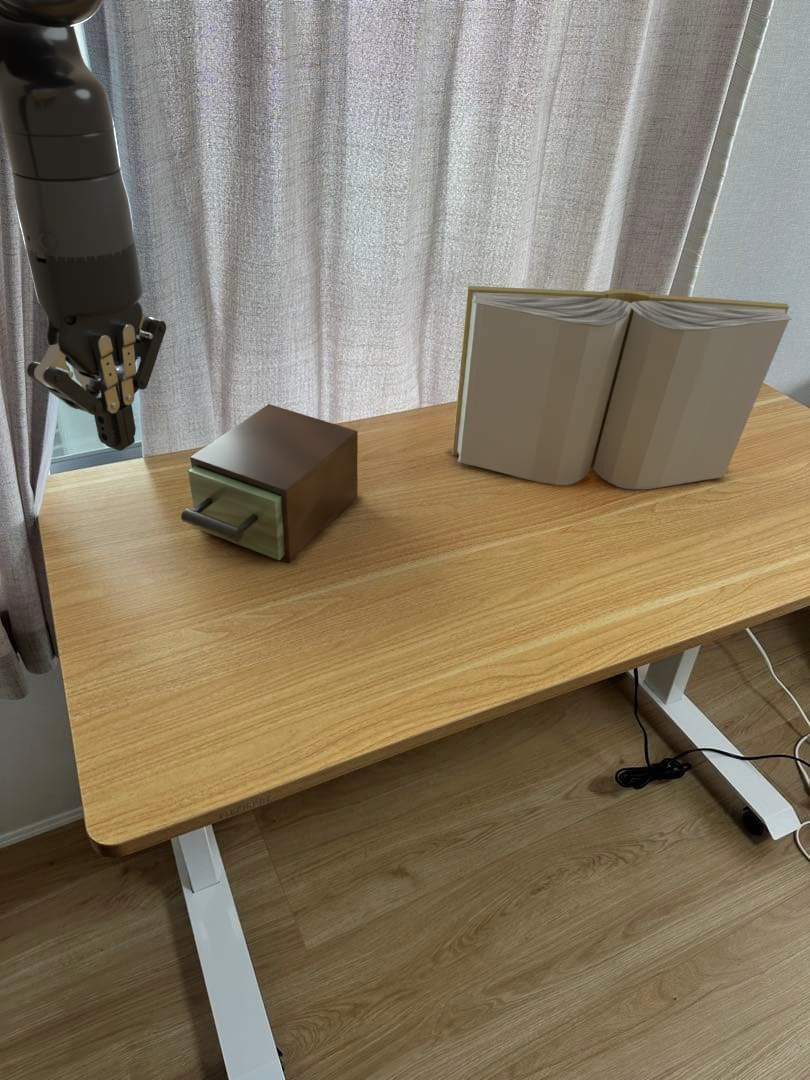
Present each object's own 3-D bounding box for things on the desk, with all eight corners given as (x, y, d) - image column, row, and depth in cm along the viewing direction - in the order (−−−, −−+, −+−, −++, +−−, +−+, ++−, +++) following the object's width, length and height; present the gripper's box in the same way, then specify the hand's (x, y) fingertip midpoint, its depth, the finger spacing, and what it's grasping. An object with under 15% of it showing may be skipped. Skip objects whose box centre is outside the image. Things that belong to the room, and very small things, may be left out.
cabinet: (290, 562, 89) (285, 490, 83) (199, 528, 93) (189, 457, 88) (357, 499, 99) (357, 430, 94) (273, 470, 104) (268, 403, 98)
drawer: (255, 582, 85) (249, 522, 80) (171, 548, 89) (161, 489, 84) (343, 500, 97) (343, 444, 93) (266, 474, 102) (262, 419, 97)
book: (719, 462, 109) (785, 297, 92) (732, 500, 104) (805, 333, 87) (452, 447, 110) (467, 280, 93) (451, 485, 105) (467, 315, 87)
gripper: (107, 207, 64) (139, 403, 74) (-35, 249, 55) (25, 467, 65) (181, 224, 61) (204, 424, 72) (46, 271, 52) (95, 494, 62)
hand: (119, 444), depth 68 cm, fingers closed
